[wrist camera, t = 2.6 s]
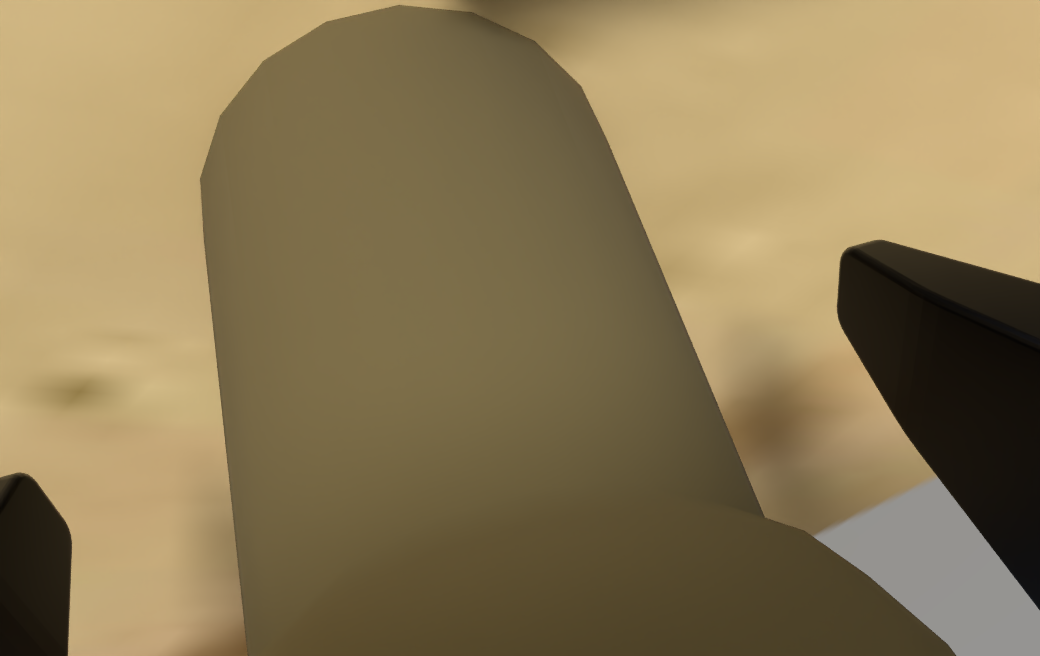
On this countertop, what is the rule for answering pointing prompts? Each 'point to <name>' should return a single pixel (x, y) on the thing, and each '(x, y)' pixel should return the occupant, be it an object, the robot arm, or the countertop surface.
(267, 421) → the cork
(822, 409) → the countertop surface
